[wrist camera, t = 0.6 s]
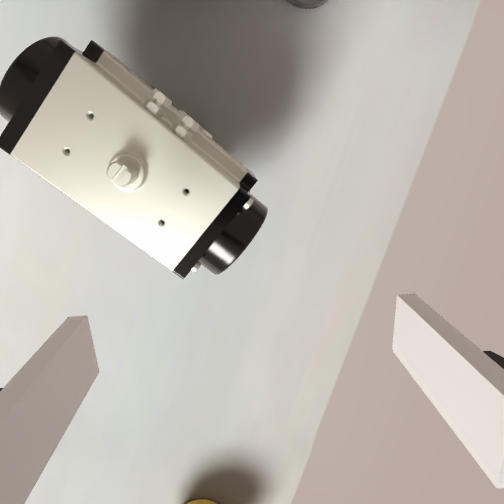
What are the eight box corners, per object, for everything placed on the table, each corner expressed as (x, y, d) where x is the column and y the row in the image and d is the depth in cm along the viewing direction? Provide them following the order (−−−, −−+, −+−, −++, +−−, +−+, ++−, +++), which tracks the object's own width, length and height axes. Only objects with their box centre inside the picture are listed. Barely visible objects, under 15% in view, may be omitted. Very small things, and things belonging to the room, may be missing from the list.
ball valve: (267, 178, 38) (295, 208, 21) (218, 238, 39) (207, 310, 22) (125, 57, 34) (16, -30, 17) (77, 129, 35) (-66, 116, 18)
